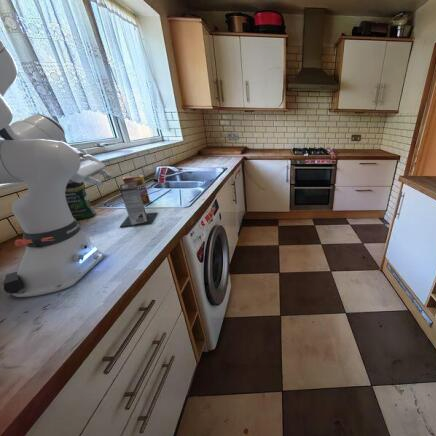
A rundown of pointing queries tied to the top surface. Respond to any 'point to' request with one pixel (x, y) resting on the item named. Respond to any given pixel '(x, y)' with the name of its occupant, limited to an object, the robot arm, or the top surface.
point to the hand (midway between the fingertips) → (106, 181)
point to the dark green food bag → (78, 200)
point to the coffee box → (133, 203)
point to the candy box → (139, 186)
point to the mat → (128, 223)
